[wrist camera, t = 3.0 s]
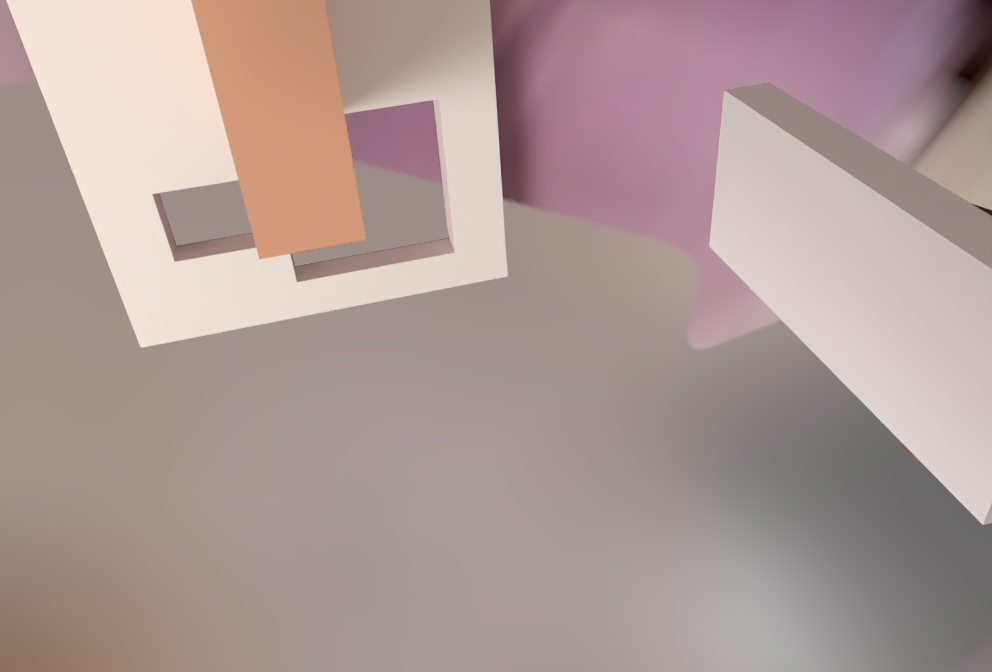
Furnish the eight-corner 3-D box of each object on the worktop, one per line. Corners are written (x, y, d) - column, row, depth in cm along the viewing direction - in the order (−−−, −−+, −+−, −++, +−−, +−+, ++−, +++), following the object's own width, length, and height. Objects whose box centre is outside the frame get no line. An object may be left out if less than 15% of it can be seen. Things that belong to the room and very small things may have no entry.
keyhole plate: (143, 330, 32) (114, 527, 23) (-182, -530, 18) (-510, -760, 10) (499, 261, 34) (585, 419, 26) (443, -540, 21) (583, -735, 13)
